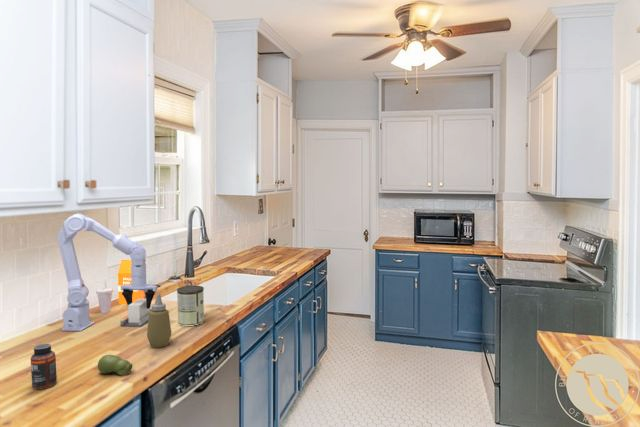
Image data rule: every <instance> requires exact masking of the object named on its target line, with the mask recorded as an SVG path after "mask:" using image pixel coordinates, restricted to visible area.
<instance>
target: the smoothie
mask: <svg viewBox="0 0 640 427" xmlns="http://www.w3.org/2000/svg"><path fill="white" fill-rule="evenodd" d="M113 291H114V290H113V288H110V287H109V288H108V287H107V279H104V288H99V289H97V290H96V294H97V295H96V296H97V299H98V305H99V312H100V313H101V314H107V313H110V312H111V303H112V295H113Z"/></svg>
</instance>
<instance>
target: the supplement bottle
mask: <svg viewBox="0 0 640 427" xmlns="http://www.w3.org/2000/svg"><path fill="white" fill-rule="evenodd" d="M33 352H34V353H33V354H32V355H31V356H30V372H31V386H32V388H33V389H34V390H45V389H48V388H51V387H53V386H55V385H56V384H57V382H58V379H57V377H58V375H57V359H56V353H55V351H54V350H52V347H51V344H50V343H43V344H42V343H41V344H38V345H35V346H34V347H33Z"/></svg>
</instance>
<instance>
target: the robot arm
mask: <svg viewBox="0 0 640 427" xmlns="http://www.w3.org/2000/svg"><path fill="white" fill-rule="evenodd" d="M83 229H84V230H83ZM82 230H83V231H84V232H94V233H96V234H97V235H99V236H100V237H102V238H105V239H106V240H107V241H110V242H111V244H112V247H113V248H114V249H116V250H118V251H120V252H121V253H123V254H125V255H127V256H129V258H130V260H131V263H132V264H131V285H122V286H120V290H121V291H123V292H122V295H123V296H124V298H125V300H126V302H127V304H126V305H127V306H128V305H129V304H131V303H132V295H133V290H137V291H144V297H145V299H146V308H147V309H149V308H150V309H151V308H152V307H151V305H152V302H153V299H154V296H155V294H156V292H157V291H158V285H154V284H153V285H152V284H147V264H146V257H147V250H146V249H145V247H144V246H143V245H142V244H139V242H137V241H136V242H135V241H133V240H131V239H130V238H129V236H128V235H127V234H125V235H124V234H115V233H114V232H113V231H111V230H110V229H108V228H106V226H104V225H102V224H101V223H100V222H98V221H96V220H95V219H93V218H91V217H90V216H86V215H85V214H83V213H74V214H73V215H70V216H69V217H67V219H65V221H63V223H62V225H61V228H60V231H59V232H58V235H57V237H56V238H57V242H58V243H57V244H58V247H59V251H60V256H61V259H62V264H63V269H64V271H65V272H64V273H65V276H66V279H67V280H66V281H67V290H68V293H67V297H66V298H67V299H66V300H67V302H68V303H67V308H66V309H65V310H64V311H63V313H62V324H63V325H62V328H61V329H60V330H61V332H62V331H63V332H65V331H68V332H70V331H71V332H81V331H83V330H85V329H87V328H88V327H90V326H92V325H93V324H95V321H91V320H90V319H91V318H90V301H89V300H88V299H87V297H88V296H89V291H90V290H89V288H88V287H87V286H86V285H85V281H84V280H83V277H82V274H81V270H80V269H81V268H80V265H79V261H78V258H77V254H76V247H75V244H74V240H73V239H75V237H76V236H77V234H78V233H79V232H81V231H82Z"/></svg>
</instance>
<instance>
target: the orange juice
mask: <svg viewBox="0 0 640 427" xmlns="http://www.w3.org/2000/svg"><path fill="white" fill-rule="evenodd" d="M131 264H132V263H131V259H121V261H120V263H119V268H118V271H117V287H118V288H117V289H118V290H117V291H118V293H117V294H118V304H119V305H127V302H126V300H125V298H124V296H123V295H122V292H123V291H121V290H120V286H122V285H131ZM140 298H141V299H145V291H137V290H133V295H132V303H133V302H134V301H136V300H138V299H140Z"/></svg>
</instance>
